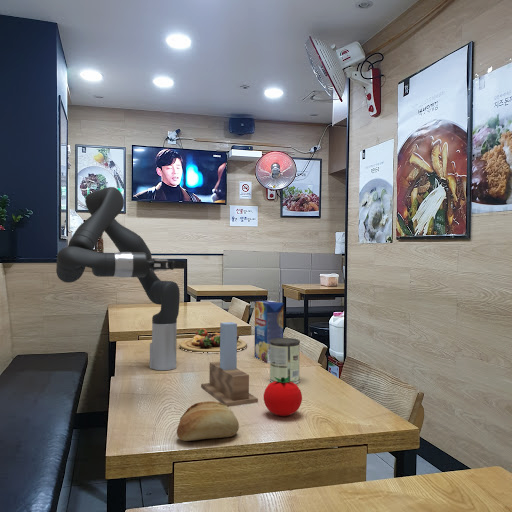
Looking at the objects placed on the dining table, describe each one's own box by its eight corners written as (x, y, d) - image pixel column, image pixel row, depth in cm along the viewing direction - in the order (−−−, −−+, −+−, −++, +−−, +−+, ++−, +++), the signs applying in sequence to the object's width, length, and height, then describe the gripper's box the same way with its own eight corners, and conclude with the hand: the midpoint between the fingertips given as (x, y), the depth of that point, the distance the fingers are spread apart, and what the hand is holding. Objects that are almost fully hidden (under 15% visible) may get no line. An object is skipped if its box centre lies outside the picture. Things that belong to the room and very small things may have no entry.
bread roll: (171, 435, 112) (171, 401, 112) (230, 426, 118) (230, 394, 118) (182, 450, 103) (182, 413, 103) (244, 440, 109) (245, 405, 109)
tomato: (270, 406, 133) (271, 371, 133) (306, 411, 129) (306, 375, 129) (257, 418, 123) (258, 380, 123) (295, 423, 120) (295, 384, 120)
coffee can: (274, 376, 167) (274, 337, 167) (302, 379, 164) (302, 338, 164) (265, 383, 158) (266, 341, 158) (295, 386, 154) (295, 343, 154)
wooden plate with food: (175, 343, 232) (175, 326, 232) (237, 339, 242) (237, 323, 241) (185, 357, 201) (185, 338, 201) (255, 353, 211) (255, 334, 211)
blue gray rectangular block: (224, 370, 142) (224, 324, 142) (219, 367, 146) (220, 322, 146) (236, 369, 144) (237, 323, 144) (231, 366, 148) (232, 322, 148)
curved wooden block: (257, 402, 137) (258, 374, 137) (226, 406, 133) (226, 378, 133) (229, 383, 157) (229, 359, 157) (201, 386, 153) (201, 362, 153)
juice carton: (283, 361, 191) (283, 303, 191) (266, 363, 188) (267, 303, 188) (270, 355, 202) (270, 300, 202) (254, 357, 199) (254, 301, 199)
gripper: (134, 251, 133) (189, 252, 140) (125, 252, 145) (175, 252, 152) (133, 278, 133) (188, 277, 140) (124, 276, 145) (175, 275, 152)
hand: (182, 264), depth 146 cm, fingers open, 8 cm apart
